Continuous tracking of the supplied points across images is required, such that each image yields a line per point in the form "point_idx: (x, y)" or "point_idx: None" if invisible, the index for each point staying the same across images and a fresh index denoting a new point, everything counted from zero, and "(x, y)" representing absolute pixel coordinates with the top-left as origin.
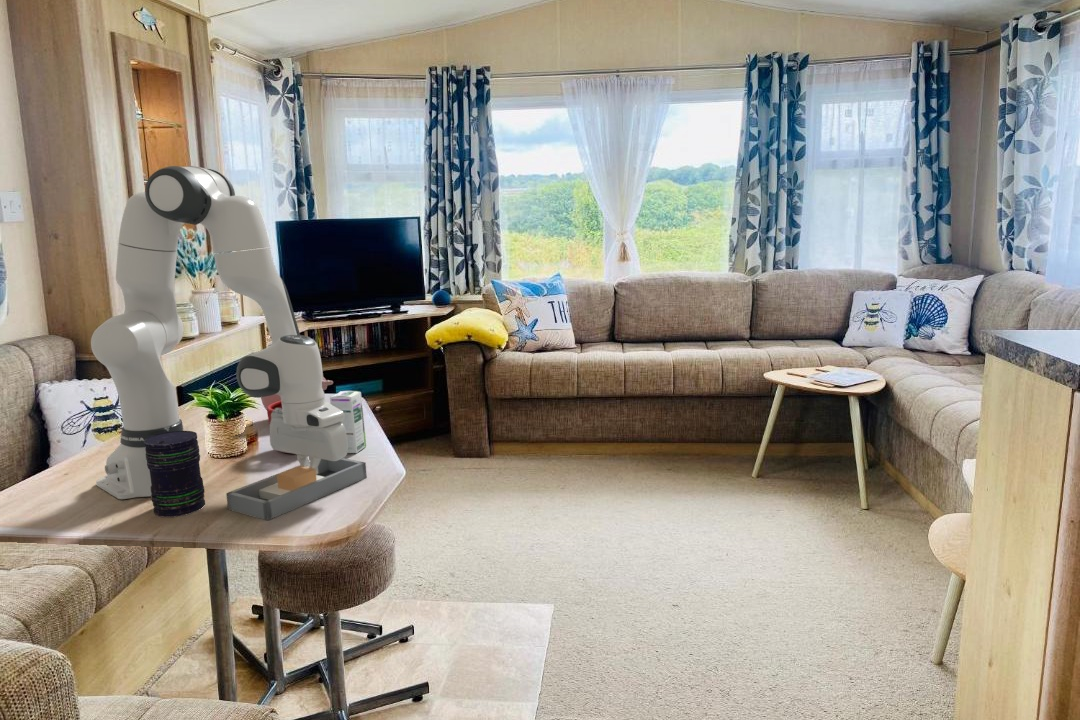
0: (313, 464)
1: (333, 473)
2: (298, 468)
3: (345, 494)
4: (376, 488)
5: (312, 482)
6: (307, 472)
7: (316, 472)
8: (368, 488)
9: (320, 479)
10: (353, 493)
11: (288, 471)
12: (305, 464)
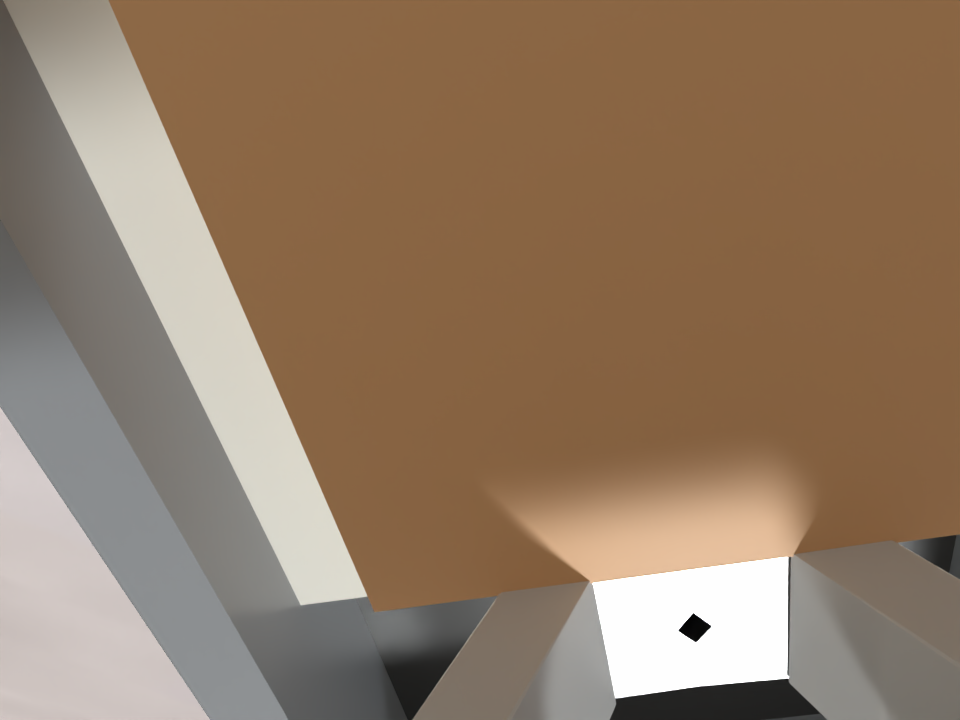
0: (430, 705)
1: (774, 685)
2: (818, 421)
3: (30, 462)
4: (15, 695)
5: (3, 244)
6: (285, 403)
7: None
8: (68, 662)
9: (97, 436)
10: (6, 525)
11: (915, 79)
12: (823, 628)
